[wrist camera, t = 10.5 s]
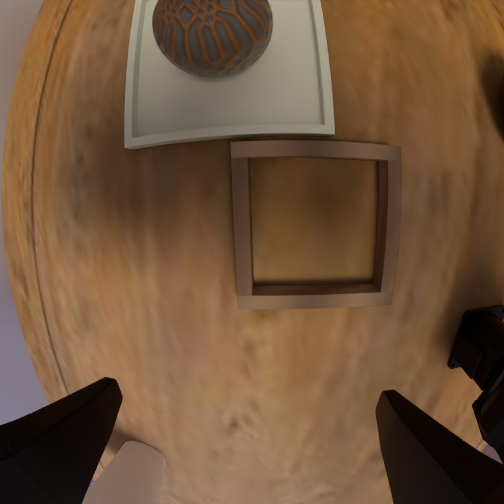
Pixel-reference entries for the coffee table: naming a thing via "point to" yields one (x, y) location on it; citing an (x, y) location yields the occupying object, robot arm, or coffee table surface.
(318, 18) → the tray
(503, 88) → the fruit
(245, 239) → the holder
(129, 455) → the foam cup
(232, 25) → the vase
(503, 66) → the coffee table surface
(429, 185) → the coffee table surface
